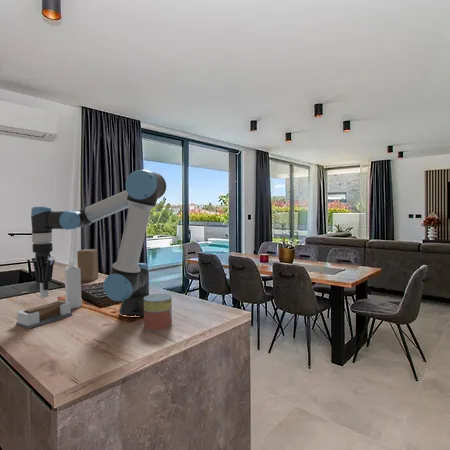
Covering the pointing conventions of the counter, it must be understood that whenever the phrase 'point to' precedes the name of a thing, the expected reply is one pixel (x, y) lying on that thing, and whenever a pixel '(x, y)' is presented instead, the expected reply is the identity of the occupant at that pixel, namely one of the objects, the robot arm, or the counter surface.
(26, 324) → the endcap rail
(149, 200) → the robot arm
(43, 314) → the slat
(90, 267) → the wooden block
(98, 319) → the counter surface
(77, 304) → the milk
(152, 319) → the canned food
